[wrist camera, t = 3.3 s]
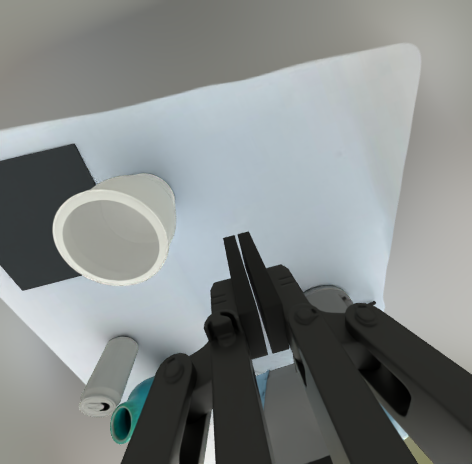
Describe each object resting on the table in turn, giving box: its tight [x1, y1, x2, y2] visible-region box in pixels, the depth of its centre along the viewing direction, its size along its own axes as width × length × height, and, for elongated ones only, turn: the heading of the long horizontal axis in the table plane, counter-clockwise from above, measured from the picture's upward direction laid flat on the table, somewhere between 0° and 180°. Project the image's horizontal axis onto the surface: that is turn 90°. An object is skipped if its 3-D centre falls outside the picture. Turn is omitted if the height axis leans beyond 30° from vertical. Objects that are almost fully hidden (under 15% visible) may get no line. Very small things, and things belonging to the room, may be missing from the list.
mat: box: [0, 144, 96, 291], centre depth 33 cm, size 20×20×1 cm
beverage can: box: [79, 337, 138, 417], centre depth 41 cm, size 6×6×12 cm
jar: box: [53, 173, 176, 286], centre depth 27 cm, size 11×10×15 cm
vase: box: [110, 376, 155, 444], centre depth 43 cm, size 11×11×19 cm
